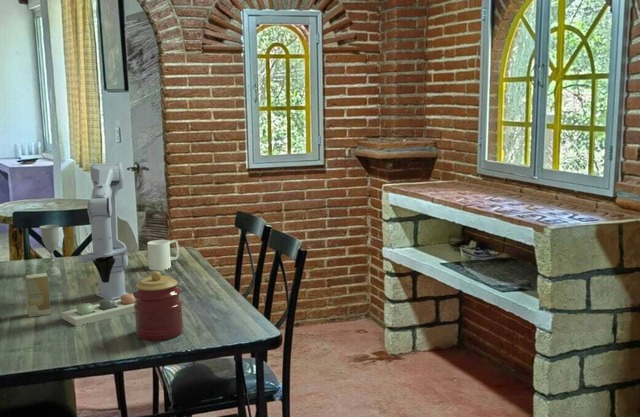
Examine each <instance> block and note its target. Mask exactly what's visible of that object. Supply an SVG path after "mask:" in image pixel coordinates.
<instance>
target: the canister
mask: <svg viewBox="0 0 640 417" xmlns="http://www.w3.org/2000/svg"><path fill="white" fill-rule="evenodd" d="M178 284H179V283H178V280H176V279H174V278H172V277H171V276H167V275H162V274H161V272H159V270H158V271H155V270H154V271H153V272H152V273H151V276H148V277H145V278H142V279H141V280H140V281H139V282H137V283H136V284H135V288H136V290H135V291H134V292H133V293H132V294H133V296H134V297H135V304H134V308H135V312H134V318H135V333H136V336H137V338H139V339H141V340H143V341H144V340H145V341H163V340H164V341H165V340H169V339H172V338H175V337H176V338H177V336H180V335H181V334H182V333H183V331H184V330H183V329H184V320H183V309H182V307H183V306H182V304H183V301H182V299H181V296H180V294H181V293H182V288H180V287H179V286H177V285H178Z"/></svg>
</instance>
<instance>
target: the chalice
mask: <svg viewBox="0 0 640 417" xmlns="http://www.w3.org/2000/svg"><path fill="white" fill-rule="evenodd" d="M59 227H60V225H59V224H45V225H40V226H39V229H40V232H41V233H40V234H41V241H42V244H43V245H44V247H45V248H46V250H47V251H49V252H50V255H49V258H50V260H49V261H50V264H51V266H50V267H48V269H47V272H46V273H47V275H48V276H56V275H60V274H61V271H60V269H59V267H58V266H56V264H55V261H56V260H55V255H54V251H56V249H57V246H58V244H59V240H60V235H59V234H60V232H59V229H60V228H59Z"/></svg>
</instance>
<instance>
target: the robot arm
mask: <svg viewBox="0 0 640 417" xmlns="http://www.w3.org/2000/svg"><path fill="white" fill-rule="evenodd" d="M90 179H91V181H92V185H93V188H92V192H91V197H90V200H87V208H86V209H87V214H88V218H89V224H90V230H91V243H92V252H89V253H86V254H81V255H78V262H79V263H80V264H85V263H87V262H92V263H93V265H94V267H96V269H97V272H98V273H97V276H96V277H97V289H98V292H97V293H96V294H95V295H96V296H97V297H100V298H102V299H107V298H112V299H114V300H118V299H121V295H124V294H130V293H128V292H126V278H125V269H127V267H128V264H129V260H128V259H129V258H128V248H127V246H126V244H125V243H124V242H123V241H121V240H119V232H118V206H117V205H118V203H117V202H118V201H117V197H118V193H119V191H121V190H122V189H124V167H123V163H122V162H120V161H119V162H105V163H104V162H103V163H94V162H93V163H92V164H91V165H90Z"/></svg>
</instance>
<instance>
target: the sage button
mask: <svg viewBox="0 0 640 417" xmlns="http://www.w3.org/2000/svg"><path fill="white" fill-rule="evenodd" d="M92 305H93V303H90V302H88V303H87V302H86V303H81V304H77V305H76V309H77V314H78V315H80V316H82V315H87V314H91V313H93V306H92Z"/></svg>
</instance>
